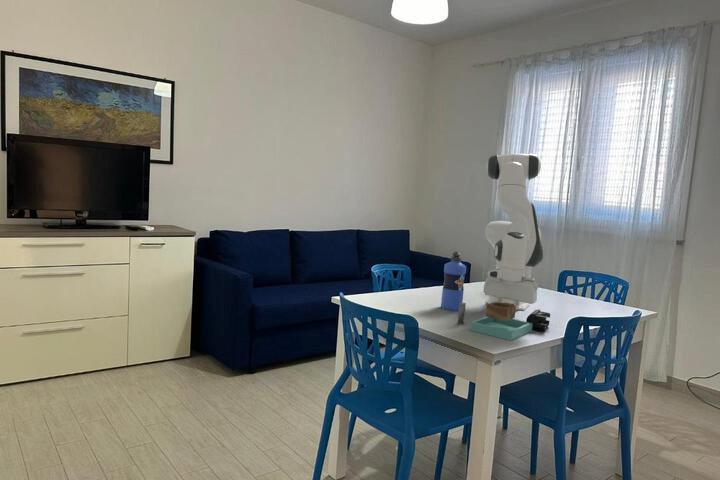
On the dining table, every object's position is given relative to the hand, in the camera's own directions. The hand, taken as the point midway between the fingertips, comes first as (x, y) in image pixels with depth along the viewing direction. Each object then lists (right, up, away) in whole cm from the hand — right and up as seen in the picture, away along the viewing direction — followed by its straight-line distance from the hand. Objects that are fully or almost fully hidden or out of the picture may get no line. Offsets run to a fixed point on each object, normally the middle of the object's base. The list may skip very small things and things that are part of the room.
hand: (507, 310), depth 200 cm
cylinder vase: (+27, -1, +78) cm, 82 cm away
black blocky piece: (+13, -8, +5) cm, 16 cm away
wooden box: (-3, -2, -3) cm, 4 cm away
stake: (-18, -5, +3) cm, 19 cm away
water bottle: (-17, -3, +28) cm, 33 cm away
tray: (-3, -7, -3) cm, 8 cm away
